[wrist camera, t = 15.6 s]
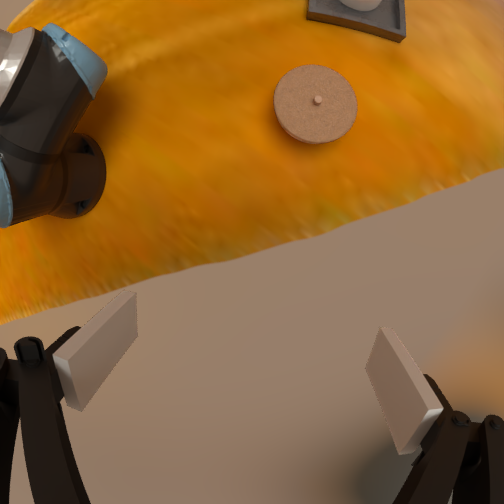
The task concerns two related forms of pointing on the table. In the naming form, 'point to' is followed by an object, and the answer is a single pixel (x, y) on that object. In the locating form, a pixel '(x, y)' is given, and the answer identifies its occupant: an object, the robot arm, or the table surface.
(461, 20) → the table surface
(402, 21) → the square metal tray
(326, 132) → the lidded jar
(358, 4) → the cup
